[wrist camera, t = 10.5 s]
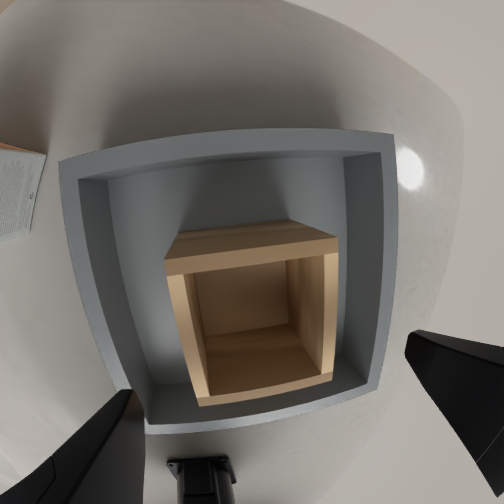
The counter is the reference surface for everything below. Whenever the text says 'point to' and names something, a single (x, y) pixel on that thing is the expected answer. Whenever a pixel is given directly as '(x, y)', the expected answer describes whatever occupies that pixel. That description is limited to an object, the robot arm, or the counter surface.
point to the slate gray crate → (224, 214)
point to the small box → (18, 189)
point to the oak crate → (254, 307)
